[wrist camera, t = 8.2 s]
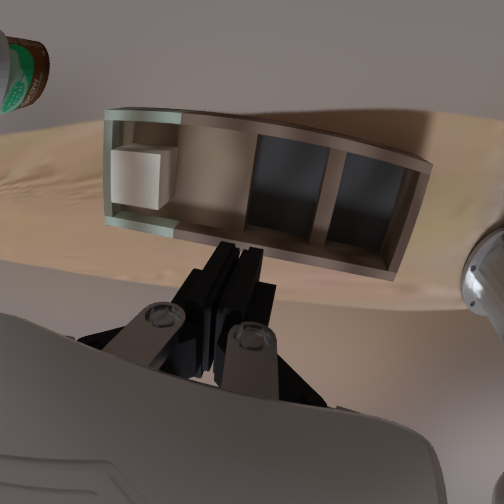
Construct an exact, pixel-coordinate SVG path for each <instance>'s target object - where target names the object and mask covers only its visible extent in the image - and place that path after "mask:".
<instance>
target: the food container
mask: <svg viewBox="0 0 504 504" xmlns="http://www.w3.org/2000/svg"><path fill="white" fill-rule="evenodd" d="M49 68H50V63H49V55H48V52H47V50H46V48H45V46H44V45H43V44H41V43H40V42H37V41H31V40H26V39H20V38H15V37H8V36H5V34H4V33H3V32H2V31H1V30H0V115H2V114H5V113H8V112H11V111H13V110H17V109H20V108H23V107H26V106H28V105H31V104H33V103H34V102H35V101H36V100H37V99H38V98H39V97H40V95H41V94H42V92H43V91H44V88H45V86H46V83H47V80H48V76H49Z"/></svg>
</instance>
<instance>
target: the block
mask: <svg viewBox="0 0 504 504" xmlns="http://www.w3.org/2000/svg"><path fill="white" fill-rule="evenodd" d="M177 154H178V147H173V146H164V145H154V144H143V143H130V144H127V145H124V146H121V147H118V148H115V149H112V150H111V202H113V203H119V204H125V205H131V206H137V207H143V208H149V209H155V210H159V209H160V208H161V207H162V206H164V205H165V204H166V203H167V202H168V201H170V200H171V199H172V198H173V197H174V196H175V182H176V167H177Z"/></svg>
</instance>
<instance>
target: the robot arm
mask: <svg viewBox="0 0 504 504" xmlns="http://www.w3.org/2000/svg"><path fill="white" fill-rule="evenodd" d="M263 253H264V249H261V248H256V247H249V249H248V250H247V249H243V251H242V254H241V256H240V258H239V254H240V248H236V247H235V243H229V242H224V241H221V242H220V243H219V245H218V246H217V248H216V250H215V251H214V253H213V254H212V256H211V257H210V259H209V261H208V262H207V264H206V265H205V267H204V269H203V270H200V269H193V270H192V271H191V273H190V274H189V276H188V277H187V279H186V280H185V282H184V283H183V285H182V286H181V288H180V289H179V291H178V292H177V294H176V295H175V297H174V298H173V300H172V301H171V303H170V302H157V303H153V304H150V305H148V306H147V307H145V308H144V309H143V310H142V311H141V312H140V313H139V314H138V315H137V316H136V317H135V318H134V319H133V320H131V322H129V323H128V324H127V325H126V326H124V327H120V328H116V329H113V330H108V331H104V332H101V333H96V334H92V335H88V336H85V337H82V338H79V339H78V340H77V341H76V340H75V338H74V337H70V336H65V335H61V334H59V333H56V332H54V331H52V330H49V329H47V328H45V327H42V326H40V325H37V324H35V323H33V322H30V321H28V320H26V319H23V318H19V317H17V316H13V315H9V314H4V313H0V504H447V496H446V488H445V483H444V478H443V473H442V470H441V466H440V463H439V460H438V457H437V454H436V452H435V450H434V448H433V446H432V445H431V444H430V442H429V441H428V440H427V439H426V438H424V437H423V436H422V435H421V434H419V433H417V432H416V431H414V430H412V429H410V428H408V427H406V426H403V425H401V424H399V423H396V422H394V421H390V420H387V419H383V418H380V417H377V416H371V415H366V414H363V413H360V412H356V411H353V410H350V409H346V408H343V407H340V406H337V407H336V408H332V407H329V406H327V404H326V402H325V401H324V400H323V398H322V397H321V396H320V395H319V394H317V392H315V391H314V390H313V389H312V388H311V387H310V386H309V385H308V384H307V383H306V382H305V381H304V380H303V379H302V378H301V377H300V376H299V375H298V374H297V373H296V372H295V371H294V370H293V369H292V368H291V367H290V366H289V365H288V364H287V363H286V362H285V361H284V360H283V359H282V358H281V357H280V356H279V355H278V354H277V339H276V335H275V333H274V332H273V331H272V330H271V329H270V328H269V327H268V324H269V320H270V315H271V309H272V305H273V300H274V295H275V290H276V285H274V284H268V283H263V282H259V278H260V272H261V265H262V259H263ZM461 294H462V298H463V300H464V302H465V304H466V305H467V307H468V308H469V309H470V310H471V311H472V312H474V313H476V314H478V315H484V316H485V315H487V316H488V318H489V319H490V321H491V323H492V325H493V326H494V328H495V329H496V331H497V333H498V335H499V336H500V338H501V340H502V341H503V343H504V227H502V228H500V229H497V230H495V231H493V232H492V233H490V234H488V235H487V236H486V237H485V238H484V239H483V240H481V241H480V242H479V244H478V245H477V246H476V247H475V248H474V250H473V251H472V253H471V254H470V256H469V258H468V260H467V262H466V264H465V266H464V270H463V273H462V277H461ZM213 360H214V363H213ZM212 363H213V373H214V381H215V382H216V384H217V385H218V386H219V387H216V386H213V385H209V384H204V383H201V382H197V381H193V380H190V379H188V378H191V377H197V378H201V377H202V375H203V372H204V371H209V370H210V368H211V366H212ZM492 504H504V472H503V474H502V475H501V476H500V478H499V479H498V480H497V482H496V484H495V487H494V490H493V495H492Z"/></svg>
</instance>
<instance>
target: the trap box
mask: <svg viewBox="0 0 504 504" xmlns="http://www.w3.org/2000/svg"><path fill="white" fill-rule="evenodd" d="M130 143H143V144H154V145H164V146H173V147H178V154H177V167H176V182H175V196H174V197H173V198H172V199H171V200H170V201H168V202H167V203H166V204H165V205H164V206H162V207H161V208H160V209H159V210H155V209H149V208H143V207H137V206H131V205H125V204H119V203H113V202H111V150H112V149H115V148H118V147H121V146H124V145H127V144H130ZM432 166H433V164H431V163H429V162H428V161H426V160H424V159H422V158H420V157H419V156H417V155H414V154H411V153H408V152H404V151H401V150H398V149H395V148H391V147H388V146H384V145H381V144H377V143H374V142H370V141H366V140H362V139H358V138H354V137H350V136H346V135H342V134H338V133H334V132H329V131H325V130H320V129H315V128H311V127H306V126H301V125H295V124H290V123H284V122H279V121H273V120H267V119H260V118H254V117H247V116H239V115H232V114H224V113H215V112H205V111H194V110H182V109H167V108H146V107H123V108H116V109H108V110H105V119H104V146H103V186H104V213H105V225H110V226H115V227H120V228H125V229H130V230H135V231H140V232H145V233H150V234H155V235H160V236H165V237H170V238H176V239H181V240H186V241H191V242H196V243H201V244H206V245H211V246H216V247H217V246H218V245H219V243H220V242H221V241H224V242H229V243H235V247H236V248H240V251H241V252H242V251H243V249H247V250H248V249H249V247H256V248H261V249H264V253H263V256H266V257H271V258H276V259H281V260H286V261H291V262H296V263H301V264H307V265H312V266H317V267H322V268H327V269H332V270H337V271H342V272H347V273H352V274H357V275H362V276H367V277H372V278H378V279H383V280H388V281H394V279H395V276H396V274H397V271H398V269H399V266H400V264H401V261H402V258H403V256H404V253H405V250H406V248H407V245H408V242H409V239H410V237H411V234H412V231H413V228H414V225H415V222H416V219H417V216H418V213H419V210H420V207H421V204H422V201H423V197H424V194H425V191H426V187H427V184H428V180H429V177H430V173H431V170H432Z"/></svg>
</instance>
